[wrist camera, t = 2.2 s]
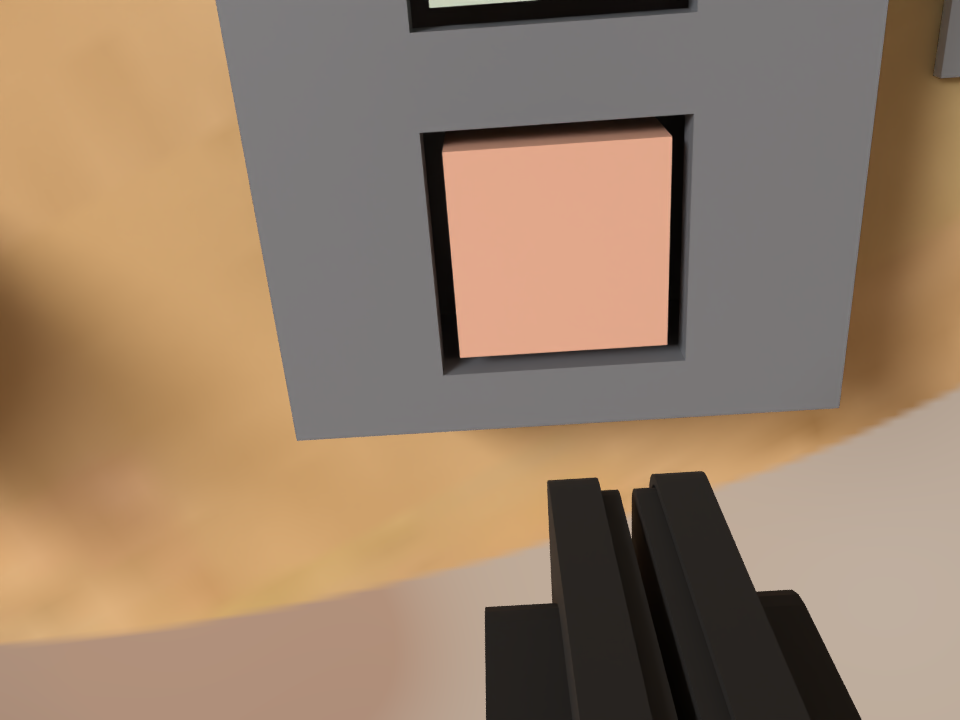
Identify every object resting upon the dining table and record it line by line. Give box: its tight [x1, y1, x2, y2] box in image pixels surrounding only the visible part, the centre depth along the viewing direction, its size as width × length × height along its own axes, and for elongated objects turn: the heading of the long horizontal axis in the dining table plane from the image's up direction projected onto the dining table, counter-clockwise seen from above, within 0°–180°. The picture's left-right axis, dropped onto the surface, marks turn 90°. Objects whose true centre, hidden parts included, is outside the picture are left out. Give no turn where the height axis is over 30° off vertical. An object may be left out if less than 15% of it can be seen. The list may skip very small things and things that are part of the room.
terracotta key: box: [442, 116, 672, 358], centre depth 19 cm, size 4×4×2 cm
